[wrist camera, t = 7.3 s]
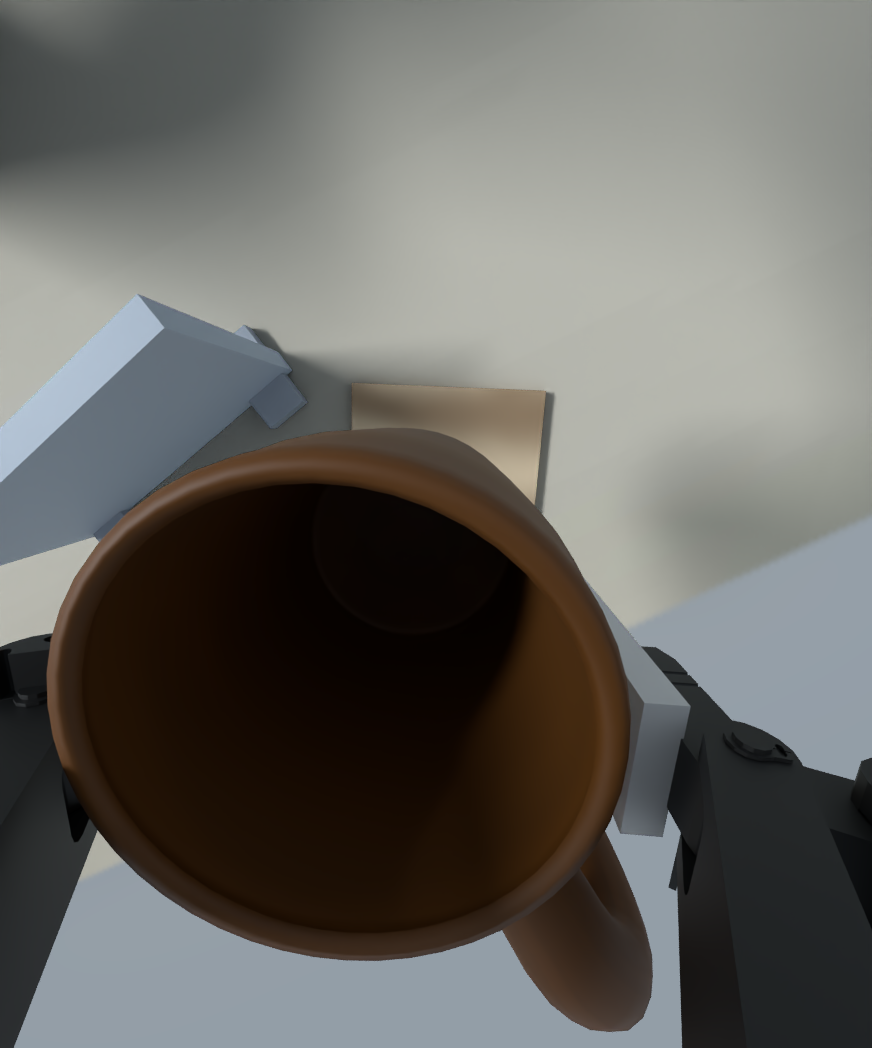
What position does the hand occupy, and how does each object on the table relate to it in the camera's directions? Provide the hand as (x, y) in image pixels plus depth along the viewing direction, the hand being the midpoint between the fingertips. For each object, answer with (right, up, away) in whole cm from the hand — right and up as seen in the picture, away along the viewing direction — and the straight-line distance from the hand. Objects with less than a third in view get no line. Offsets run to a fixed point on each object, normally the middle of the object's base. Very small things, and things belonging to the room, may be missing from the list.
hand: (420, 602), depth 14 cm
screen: (-18, +8, +17) cm, 26 cm away
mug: (+1, 0, +1) cm, 1 cm away
